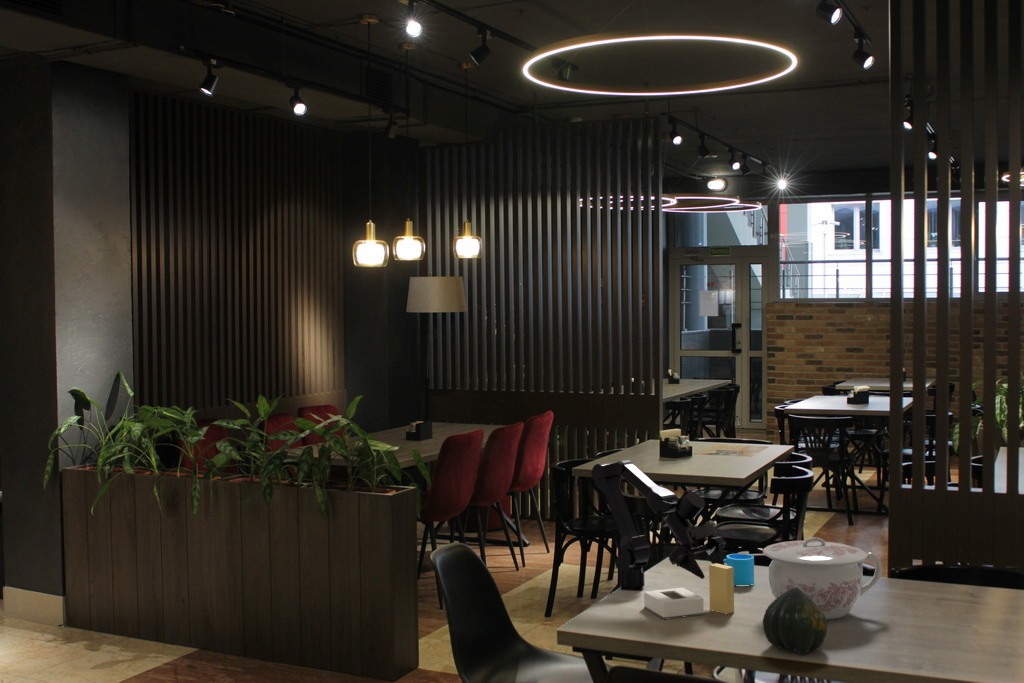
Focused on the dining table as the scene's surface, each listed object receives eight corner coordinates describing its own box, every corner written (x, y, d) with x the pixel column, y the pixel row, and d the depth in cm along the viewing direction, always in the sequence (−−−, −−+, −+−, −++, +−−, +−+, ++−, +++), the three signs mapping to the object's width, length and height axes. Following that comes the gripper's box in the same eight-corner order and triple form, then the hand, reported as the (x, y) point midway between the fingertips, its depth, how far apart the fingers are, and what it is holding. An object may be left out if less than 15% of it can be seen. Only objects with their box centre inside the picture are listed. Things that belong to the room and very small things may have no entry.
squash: (783, 640, 233) (814, 586, 237) (742, 626, 246) (772, 575, 251) (820, 674, 237) (850, 620, 242) (778, 658, 251) (807, 607, 255)
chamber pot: (744, 615, 272) (743, 539, 272) (792, 594, 292) (791, 523, 292) (843, 635, 253) (842, 553, 253) (887, 611, 273) (886, 535, 273)
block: (709, 610, 278) (709, 565, 277) (716, 608, 280) (716, 563, 279) (727, 614, 273) (726, 568, 273) (734, 612, 275) (733, 567, 275)
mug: (751, 579, 310) (750, 553, 309) (756, 586, 301) (756, 559, 301) (712, 580, 310) (711, 553, 310) (716, 587, 302) (716, 560, 302)
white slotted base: (644, 607, 281) (644, 591, 281) (682, 603, 285) (682, 587, 285) (663, 619, 270) (663, 602, 270) (703, 614, 273) (703, 598, 273)
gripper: (675, 516, 276) (708, 563, 268) (719, 508, 288) (752, 552, 279) (655, 541, 282) (686, 587, 274) (699, 531, 294) (730, 575, 286)
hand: (714, 575), depth 278 cm, fingers open, 9 cm apart
